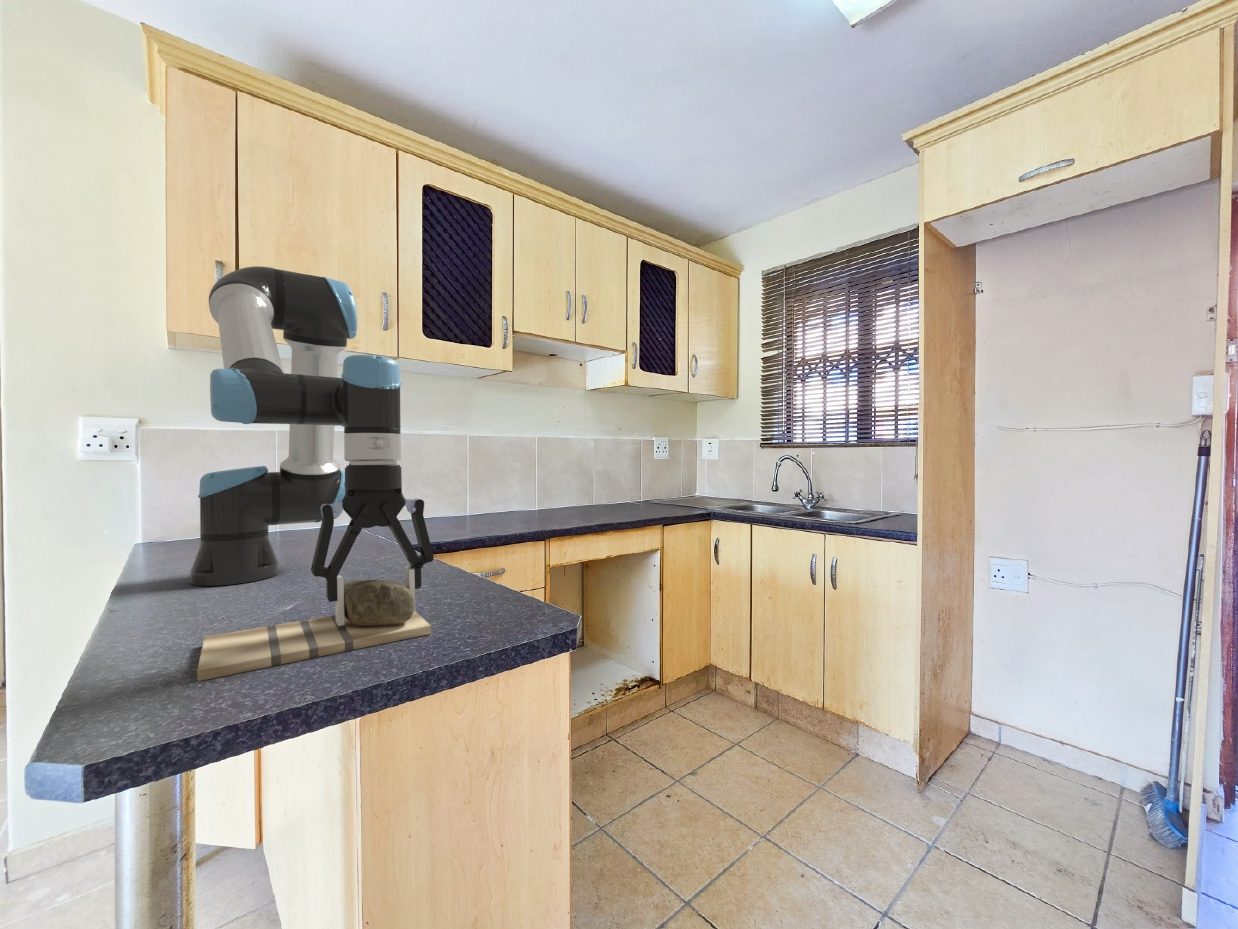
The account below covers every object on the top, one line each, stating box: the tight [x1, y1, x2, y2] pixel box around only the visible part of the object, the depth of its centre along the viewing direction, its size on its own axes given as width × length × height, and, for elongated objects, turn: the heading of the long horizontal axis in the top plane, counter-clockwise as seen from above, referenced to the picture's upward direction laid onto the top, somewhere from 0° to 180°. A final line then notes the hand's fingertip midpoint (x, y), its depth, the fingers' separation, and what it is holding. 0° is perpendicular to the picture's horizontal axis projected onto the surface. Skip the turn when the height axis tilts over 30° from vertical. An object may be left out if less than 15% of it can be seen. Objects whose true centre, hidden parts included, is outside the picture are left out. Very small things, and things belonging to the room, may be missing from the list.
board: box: [196, 611, 432, 682], centre depth 73 cm, size 14×26×1 cm, turn 126°
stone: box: [344, 579, 414, 626], centre depth 78 cm, size 9×14×10 cm, turn 38°
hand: (376, 616), depth 77 cm, fingers closed on stone, 9 cm apart
